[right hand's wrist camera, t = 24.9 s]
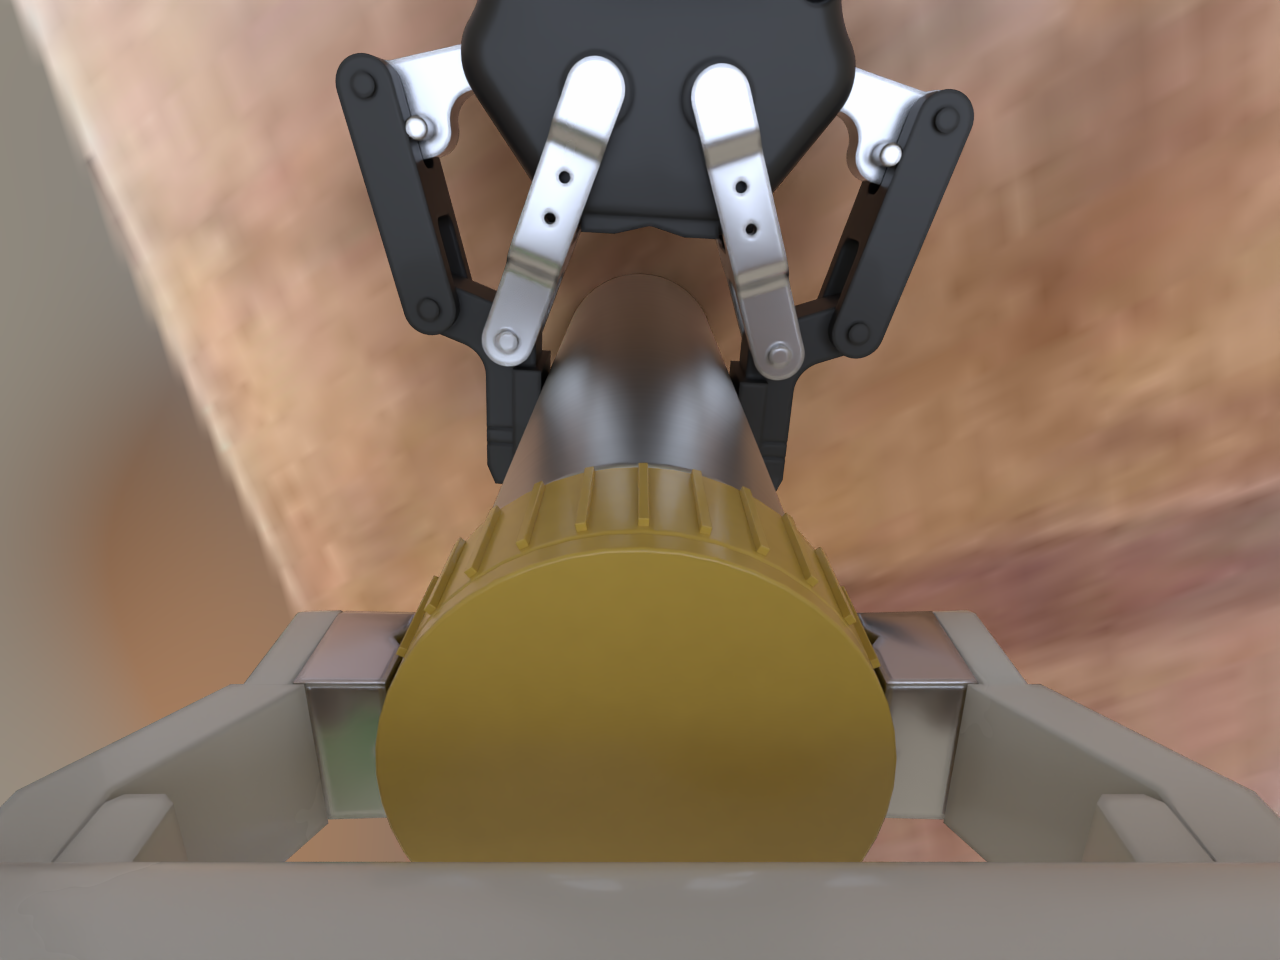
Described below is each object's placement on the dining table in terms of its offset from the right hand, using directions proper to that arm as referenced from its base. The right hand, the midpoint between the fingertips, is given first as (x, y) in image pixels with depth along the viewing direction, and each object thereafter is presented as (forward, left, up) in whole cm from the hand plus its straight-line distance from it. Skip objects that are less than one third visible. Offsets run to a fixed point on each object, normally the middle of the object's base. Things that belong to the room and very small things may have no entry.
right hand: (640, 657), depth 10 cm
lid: (0, 0, +2) cm, 2 cm away
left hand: (-3, +1, -12) cm, 12 cm away
